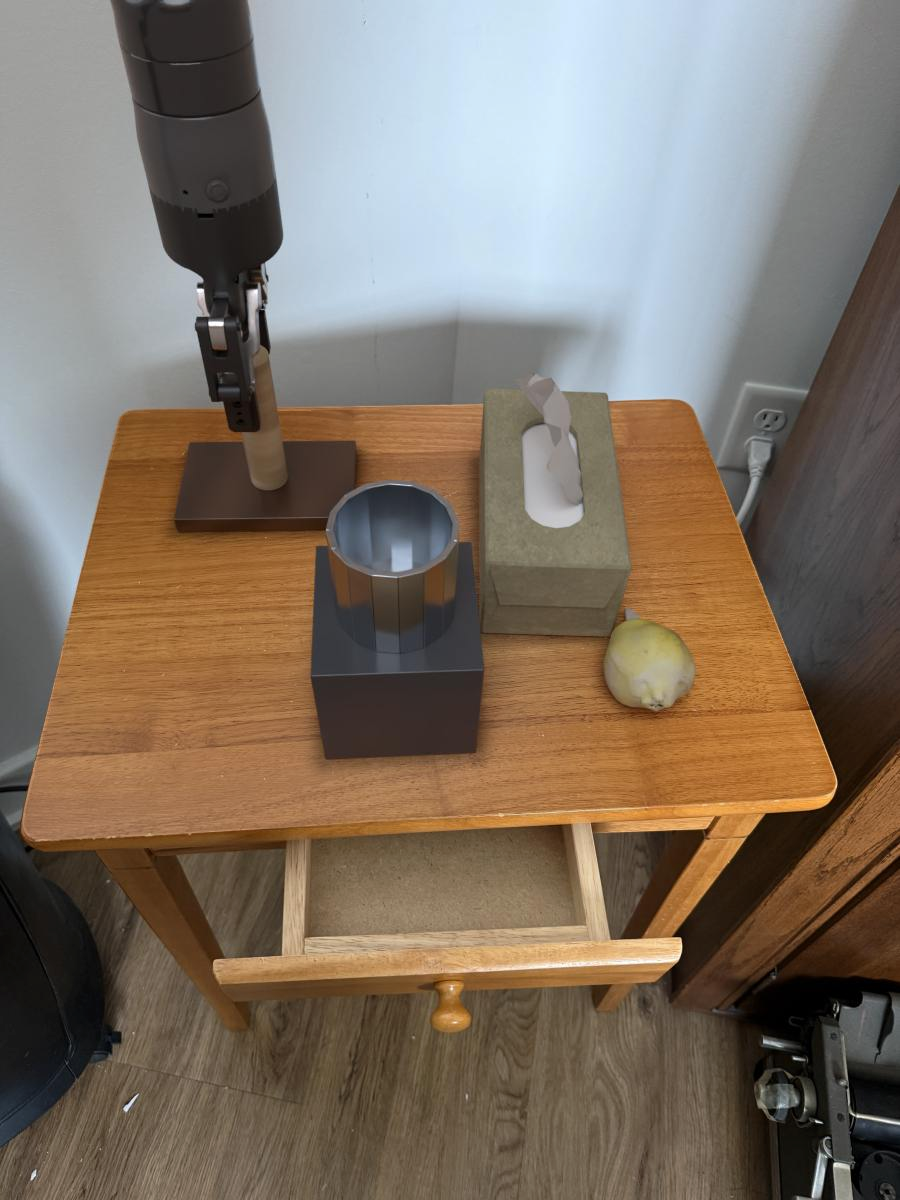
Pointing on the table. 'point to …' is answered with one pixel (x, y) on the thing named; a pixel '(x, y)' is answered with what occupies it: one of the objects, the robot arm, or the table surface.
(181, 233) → the robot arm
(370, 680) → the stand
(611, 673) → the fruit
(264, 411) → the stick
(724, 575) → the table surface
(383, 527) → the tin
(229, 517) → the board
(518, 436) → the tissue box
